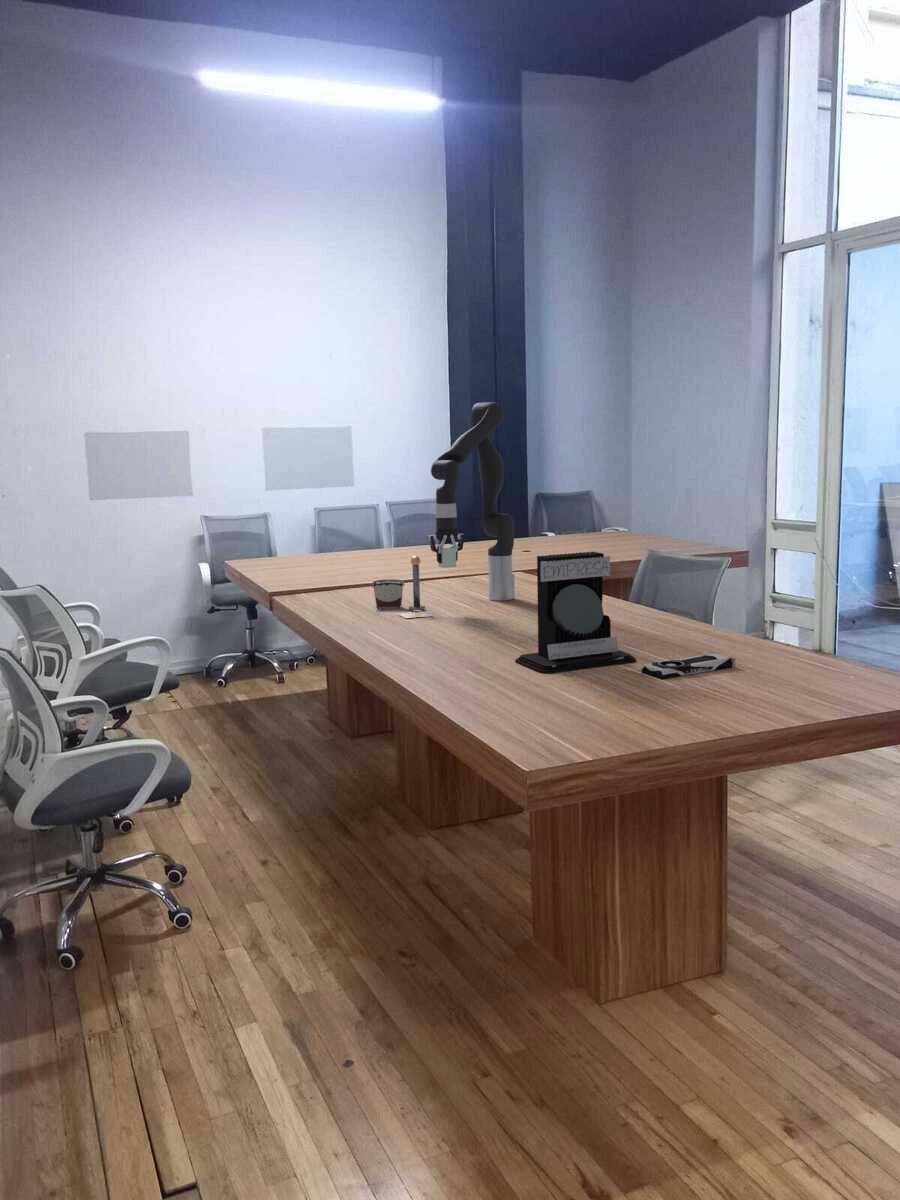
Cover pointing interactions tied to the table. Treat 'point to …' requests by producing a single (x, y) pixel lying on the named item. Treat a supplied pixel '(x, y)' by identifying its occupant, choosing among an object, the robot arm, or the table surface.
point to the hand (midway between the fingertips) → (447, 562)
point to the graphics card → (688, 666)
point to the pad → (414, 614)
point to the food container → (388, 592)
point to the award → (573, 615)
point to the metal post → (416, 584)
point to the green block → (448, 557)
